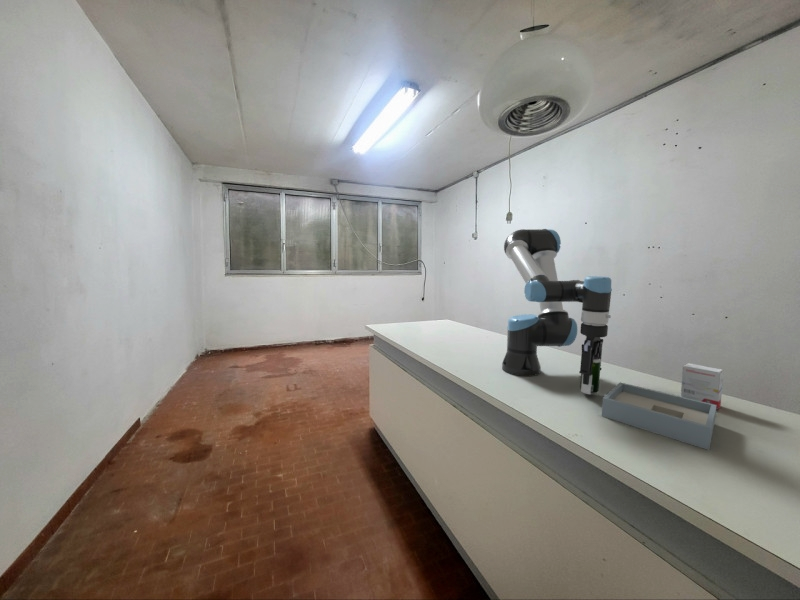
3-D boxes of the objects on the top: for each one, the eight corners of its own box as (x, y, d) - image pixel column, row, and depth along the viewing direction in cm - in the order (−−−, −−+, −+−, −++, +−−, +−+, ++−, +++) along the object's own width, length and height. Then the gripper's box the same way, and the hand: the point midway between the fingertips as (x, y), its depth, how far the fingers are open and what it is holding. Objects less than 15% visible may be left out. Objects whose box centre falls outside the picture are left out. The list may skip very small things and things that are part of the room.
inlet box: (601, 415, 88) (602, 397, 87) (618, 398, 99) (620, 382, 99) (708, 450, 71) (711, 428, 71) (714, 424, 83) (716, 405, 82)
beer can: (599, 395, 98) (602, 360, 97) (581, 393, 100) (583, 358, 99) (596, 389, 103) (599, 355, 102) (578, 386, 105) (581, 353, 104)
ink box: (721, 406, 93) (725, 369, 92) (717, 410, 91) (721, 372, 89) (684, 396, 101) (687, 362, 99) (679, 400, 98) (682, 365, 97)
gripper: (598, 329, 90) (592, 402, 93) (615, 321, 102) (610, 386, 105) (571, 325, 96) (566, 394, 99) (590, 318, 108) (586, 379, 111)
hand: (588, 390), depth 102 cm, fingers closed on beer can, 5 cm apart
